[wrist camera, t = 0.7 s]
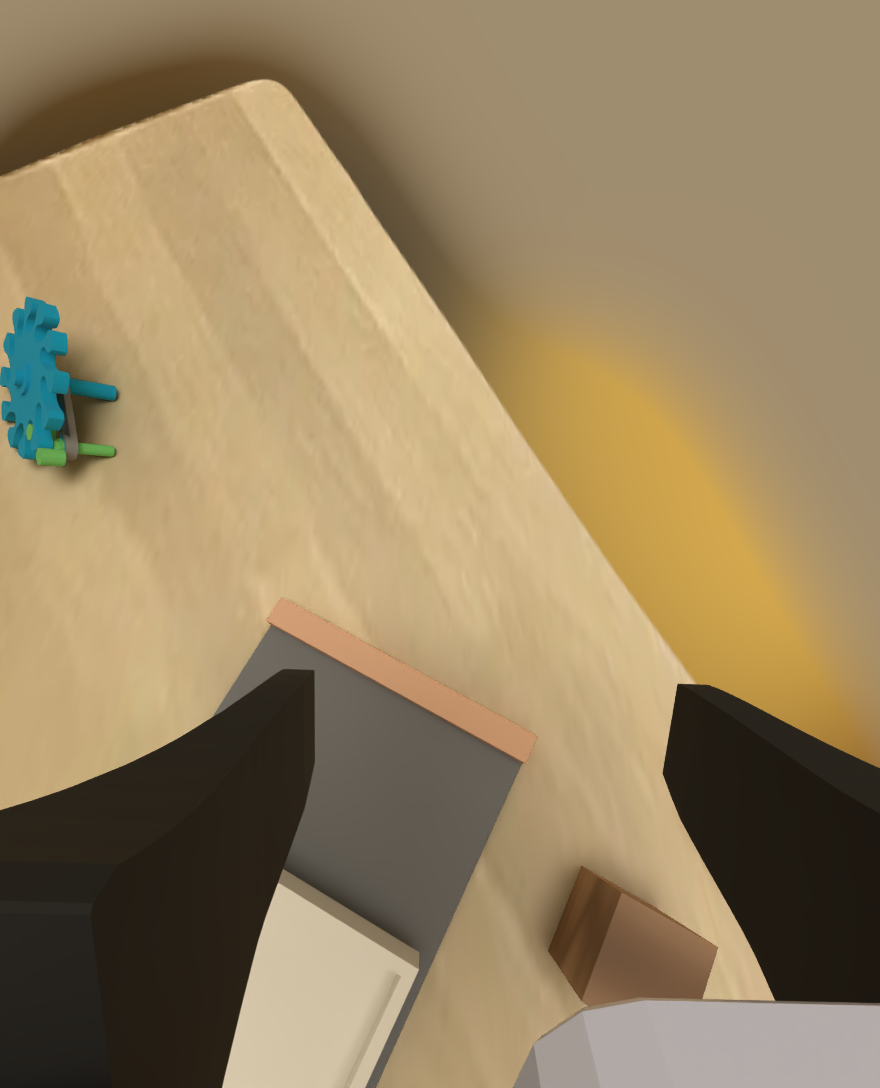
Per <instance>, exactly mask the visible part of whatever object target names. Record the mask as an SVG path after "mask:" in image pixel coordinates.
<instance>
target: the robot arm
mask: <svg viewBox="0 0 880 1088" xmlns="http://www.w3.org/2000/svg"><path fill="white" fill-rule="evenodd" d="M314 764H315V670H301V669H282V670H281V671H279V672H277V673H276V674H274V675H273V676H271V677H270V678H269V679H267V680H266V681H264V682H263V683H262V684H260V685H259V686H258V687H256V688H255V689H253V690H252V691H251V692H249V693H248V694H246V695H245V696H243V697H242V698H241V699H239V700H238V701H236V702H235V703H233V704H232V705H231V706H229V707H228V708H226V709H225V710H223V711H222V712H220V713H219V714H217V715H215V716H214V717H212V718H211V719H209V720H207V721H206V722H204V723H202V724H201V725H199V726H198V727H196V728H194V729H193V730H191V731H190V732H188V733H186V734H185V735H183V736H181V737H180V738H178V739H176V740H174V741H172V742H171V743H169V744H167V745H165V746H163V747H161V748H159V749H157V750H155V751H153V752H151V753H149V754H147V755H145V756H143V757H141V758H139V759H137V760H135V761H133V762H131V763H128V764H126V765H124V766H122V767H119V768H117V769H114V770H112V771H109V772H107V773H105V774H102V775H100V776H97V777H95V778H92V779H90V780H87V781H85V782H83V783H80V784H78V785H75V786H73V787H70V788H67V789H64V790H62V791H59V792H56V793H53V794H50V795H47V796H44V797H41V798H38V799H35V800H32V801H29V802H26V803H22V804H19V805H16V806H13V807H9V808H6V809H3V810H0V1088H222V1086H223V1082H224V1077H225V1073H226V1069H227V1065H228V1061H229V1056H230V1052H231V1048H232V1044H233V1040H234V1036H235V1032H236V1027H237V1023H238V1019H239V1015H240V1011H241V1007H242V1003H243V999H244V995H245V991H246V987H247V983H248V979H249V975H250V971H251V967H252V963H253V959H254V955H255V952H256V948H257V944H258V940H259V937H260V934H261V931H262V927H263V924H264V921H265V918H266V915H267V912H268V909H269V907H270V904H271V901H272V898H273V895H274V893H275V890H276V887H277V884H278V882H279V879H280V876H281V873H282V871H283V868H284V865H285V862H286V859H287V857H288V854H289V851H290V848H291V846H292V843H293V840H294V837H295V834H296V832H297V829H298V826H299V823H300V820H301V817H302V815H303V812H304V809H305V805H306V801H307V796H308V792H309V787H310V783H311V778H312V773H313V769H314ZM663 776H664V778H665V781H666V784H667V786H668V789H669V792H670V795H671V797H672V800H673V802H674V805H675V807H676V810H677V812H678V815H679V817H680V819H681V821H682V823H683V825H684V827H685V829H686V831H687V833H688V834H689V836H690V838H691V840H692V842H693V843H694V845H695V847H696V849H697V851H698V852H699V854H700V856H701V858H702V860H703V861H704V863H705V865H706V867H707V869H708V870H709V872H710V874H711V876H712V877H713V879H714V881H715V883H716V884H717V886H718V888H719V890H720V892H721V893H722V895H723V897H724V899H725V900H726V902H727V904H728V906H729V907H730V909H731V911H732V913H733V915H734V916H735V918H736V920H737V922H738V923H739V925H740V927H741V929H742V931H743V933H744V935H745V937H746V939H747V940H748V942H749V944H750V946H751V948H752V950H753V952H754V954H755V956H756V958H757V961H758V963H759V965H760V967H761V970H762V972H763V974H764V976H765V979H766V981H767V983H768V985H769V988H770V990H771V992H772V995H773V997H774V999H775V1001H761V1000H719V999H676V998H634V999H628V1000H623V1001H617V1002H612V1003H606V1004H600V1005H595V1006H589V1007H584V1008H582V1009H581V1010H579V1011H578V1012H577V1013H575V1014H574V1015H572V1016H571V1017H569V1018H568V1019H566V1020H565V1021H563V1022H562V1023H560V1024H559V1025H557V1026H556V1027H554V1028H553V1029H551V1030H550V1031H548V1032H547V1033H545V1034H544V1035H542V1036H541V1037H540V1038H539V1039H538V1040H537V1041H536V1042H535V1043H534V1045H533V1047H532V1049H531V1051H530V1053H529V1055H528V1057H527V1059H526V1061H525V1063H524V1065H523V1068H522V1070H521V1072H520V1074H519V1076H518V1078H517V1080H516V1082H515V1084H514V1086H513V1088H880V768H878V767H876V766H873V765H871V764H869V763H867V762H864V761H862V760H860V759H858V758H856V757H854V756H852V755H850V754H847V753H845V752H843V751H841V750H839V749H837V748H835V747H833V746H831V745H829V744H826V743H825V742H823V741H821V740H818V739H817V738H814V737H813V736H811V735H809V734H807V733H805V732H803V731H801V730H799V729H797V728H795V727H793V726H791V725H789V724H787V723H785V722H784V721H782V720H780V719H778V718H776V717H774V716H772V715H770V714H768V713H766V712H764V711H763V710H760V709H759V708H757V707H755V706H753V705H751V704H749V703H747V702H745V701H743V700H741V699H739V698H737V697H735V696H733V695H731V694H729V693H727V692H724V691H722V690H720V689H718V688H715V687H712V686H710V685H696V684H678V685H677V691H676V697H675V703H674V709H673V715H672V720H671V726H670V732H669V738H668V744H667V750H666V756H665V762H664V768H663Z"/></svg>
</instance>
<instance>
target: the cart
mask: <svg viewBox="0 0 880 1088" xmlns="http://www.w3.org/2000/svg"><path fill="white" fill-rule="evenodd" d="M418 971H419V952H418V951H416V950H415V949H413V948H411V947H410V946H408V945H406V944H405V943H403V942H401V941H400V940H398V939H397V938H395V937H393V936H392V935H390V934H388V933H387V932H385V931H384V930H382V929H380V928H379V927H377V926H375V925H374V924H372V923H371V922H369V921H367V920H366V919H364V918H362V917H361V916H359V915H357V914H356V913H354V912H353V911H351V910H349V909H348V908H346V907H344V906H343V905H341V904H340V903H338V902H336V901H335V900H333V899H331V898H330V897H328V896H326V895H325V894H323V893H322V892H320V891H318V890H317V889H315V888H313V887H312V886H310V885H309V884H307V883H305V882H304V881H302V880H300V879H299V878H297V877H296V876H294V875H292V874H291V873H289V872H287V871H286V870H284V869H283V871H282V873H281V876H280V879H279V882H278V884H277V887H276V890H275V893H274V895H273V898H272V901H271V904H270V907H269V909H268V912H267V915H266V918H265V921H264V924H263V927H262V931H261V934H260V937H259V940H258V944H257V948H256V952H255V955H254V959H253V963H252V967H251V971H250V975H249V979H248V983H247V987H246V991H245V995H244V999H243V1003H242V1007H241V1011H240V1015H239V1019H238V1023H237V1027H236V1032H235V1036H234V1040H233V1044H232V1048H231V1052H230V1056H229V1061H228V1065H227V1069H226V1073H225V1077H224V1082H223V1086H222V1088H365V1087H366V1085H367V1083H368V1080H369V1078H370V1076H371V1074H372V1072H373V1069H374V1067H375V1065H376V1063H377V1061H378V1058H379V1056H380V1054H381V1052H382V1050H383V1048H384V1045H385V1043H386V1041H387V1039H388V1037H389V1034H390V1032H391V1030H392V1028H393V1026H394V1023H395V1021H396V1019H397V1017H398V1015H399V1012H400V1010H401V1008H402V1006H403V1004H404V1001H405V999H406V997H407V995H408V993H409V991H410V988H411V986H412V984H413V982H414V980H415V977H416V975H417V973H418Z"/></svg>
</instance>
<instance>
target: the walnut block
mask: <svg viewBox="0 0 880 1088" xmlns="http://www.w3.org/2000/svg"><path fill="white" fill-rule="evenodd" d="M717 949H718V947H717V946H715V945H713V944H712V943H710V942H709V941H707V940H706V939H704V938H702V937H701V936H699V935H698V934H696V933H695V932H693V931H691V930H690V929H688V928H687V927H685V926H684V925H682V924H680V923H679V922H677V921H676V920H674V919H672V918H671V917H669V916H668V915H666V914H665V913H663V912H661V911H660V910H658V909H657V908H655V907H653V906H651V905H650V904H648V903H646V902H644V901H642V900H641V899H639V898H637V897H635V896H634V895H632V894H630V893H628V892H627V891H625V890H623V889H621V888H620V887H618V886H616V885H614V884H613V883H611V882H609V881H607V880H606V879H604V878H602V877H600V876H599V875H597V874H595V873H593V872H591V871H590V870H588V869H586V868H584V867H583V866H582V867H581V869H580V872H579V875H578V877H577V880H576V882H575V885H574V887H573V890H572V892H571V895H570V897H569V900H568V902H567V905H566V907H565V910H564V912H563V915H562V917H561V920H560V923H559V925H558V928H557V930H556V933H555V935H554V938H553V940H552V943H551V945H550V948H549V950H548V951H549V953H550V954H551V956H552V957H553V959H554V960H555V962H556V963H557V965H558V966H559V968H560V969H561V971H562V972H563V974H564V975H565V977H566V978H567V980H568V981H569V983H570V984H571V986H572V987H573V989H574V990H575V992H576V993H577V995H578V996H579V998H580V999H581V1001H582V1002H584V1003H586V1004H587V1005H589V1006H595V1005H600V1004H606V1003H612V1002H617V1001H623V1000H628V999H634V998H676V999H702V998H703V994H704V991H705V988H706V985H707V981H708V978H709V975H710V972H711V969H712V965H713V962H714V959H715V956H716V953H717Z"/></svg>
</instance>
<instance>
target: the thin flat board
mask: <svg viewBox="0 0 880 1088" xmlns="http://www.w3.org/2000/svg"><path fill="white" fill-rule="evenodd" d="M266 621H267V622H269V623H270V624H271V626H270V628H269V629H268V631H267V633H266V634H265V636H264V637H263V639H262V640H261V642H260V644H259V645H258V647H257V648H256V650H255V651H254V653H253V654H252V656H251V658H250V659H249V661H248V662H247V664H246V665H245V667H244V669H243V670H242V672H241V673H240V675H239V676H238V678H237V680H236V681H235V683H234V684H233V686H232V687H231V689H230V691H229V692H228V694H227V695H226V697H225V698H224V700H223V702H222V703H221V705H220V706H219V708H218V709H217V711H216V712H215V714H214V716H215V715H217V714H219V713H220V712H222V711H223V710H225V709H226V708H228V707H229V706H231V705H232V704H233V703H235V702H236V701H238V700H239V699H241V698H242V697H243V696H245V695H246V694H248V693H249V692H251V691H252V690H253V689H255V688H256V687H258V686H259V685H260V684H262V683H263V682H264V681H266V680H267V679H269V678H270V677H271V676H273V675H274V674H276V673H277V672H279V671H281V670H282V669H301V670H315V764H314V769H313V773H312V778H311V783H310V787H309V792H308V796H307V801H306V805H305V809H304V812H303V815H302V817H301V820H300V823H299V826H298V829H297V832H296V834H295V837H294V840H293V843H292V846H291V848H290V851H289V854H288V857H287V859H286V862H285V865H284V868H283V869H284V870H286V871H287V872H289V873H291V874H292V875H294V876H296V877H297V878H299V879H300V880H302V881H304V882H305V883H307V884H309V885H310V886H312V887H313V888H315V889H317V890H318V891H320V892H322V893H323V894H325V895H326V896H328V897H330V898H331V899H333V900H335V901H336V902H338V903H340V904H341V905H343V906H344V907H346V908H348V909H349V910H351V911H353V912H354V913H356V914H357V915H359V916H361V917H362V918H364V919H366V920H367V921H369V922H371V923H372V924H374V925H375V926H377V927H379V928H380V929H382V930H384V931H385V932H387V933H388V934H390V935H392V936H393V937H395V938H397V939H398V940H400V941H401V942H403V943H405V944H406V945H408V946H410V947H411V948H413V949H415V950H416V951H418V952H419V971H418V973H417V975H416V977H415V980H414V982H413V984H412V986H411V988H410V991H409V993H408V995H407V997H406V999H405V1001H404V1004H403V1006H402V1008H401V1010H400V1012H399V1015H398V1017H397V1019H396V1021H395V1023H394V1026H393V1028H392V1030H391V1032H390V1034H389V1037H388V1039H387V1041H386V1043H385V1045H384V1048H383V1050H382V1052H381V1054H380V1056H379V1058H378V1061H377V1063H376V1065H375V1067H374V1069H373V1072H372V1074H371V1076H370V1078H369V1080H368V1083H367V1085H366V1087H365V1088H376V1086H377V1083H378V1081H379V1079H380V1077H381V1075H382V1072H383V1070H384V1068H385V1066H386V1064H387V1061H388V1059H389V1057H390V1055H391V1052H392V1050H393V1048H394V1046H395V1044H396V1041H397V1039H398V1037H399V1035H400V1032H401V1030H402V1028H403V1026H404V1024H405V1021H406V1019H407V1017H408V1015H409V1013H410V1010H411V1008H412V1006H413V1004H414V1001H415V999H416V997H417V995H418V993H419V990H420V988H421V986H422V984H423V981H424V979H425V977H426V975H427V973H428V970H429V968H430V966H431V964H432V962H433V959H434V957H435V955H436V953H437V950H438V948H439V946H440V944H441V942H442V939H443V937H444V935H445V933H446V931H447V928H448V926H449V924H450V922H451V919H452V917H453V915H454V913H455V911H456V908H457V906H458V904H459V902H460V899H461V897H462V895H463V893H464V891H465V888H466V886H467V884H468V882H469V880H470V877H471V875H472V873H473V871H474V868H475V866H476V864H477V862H478V860H479V857H480V855H481V853H482V851H483V848H484V846H485V844H486V842H487V840H488V837H489V835H490V833H491V831H492V829H493V826H494V824H495V822H496V820H497V817H498V815H499V813H500V811H501V809H502V806H503V804H504V802H505V800H506V798H507V795H508V793H509V791H510V789H511V786H512V784H513V782H514V780H515V778H516V775H517V773H518V771H519V769H520V766H521V764H522V763H526V762H527V759H528V757H529V755H530V753H531V750H532V748H533V746H534V744H535V742H536V739H537V737H538V736H536V735H534V734H532V733H530V732H528V731H527V730H525V729H523V728H521V727H519V726H517V725H516V724H514V723H512V722H510V721H508V720H506V719H505V718H503V717H501V716H499V715H497V714H495V713H493V712H492V711H490V710H488V709H486V708H484V707H482V706H481V705H479V704H477V703H475V702H473V701H471V700H470V699H468V698H466V697H464V696H462V695H460V694H458V693H457V692H455V691H453V690H451V689H449V688H447V687H446V686H444V685H442V684H440V683H438V682H436V681H435V680H433V679H431V678H429V677H427V676H425V675H423V674H422V673H420V672H418V671H416V670H414V669H412V668H411V667H409V666H407V665H405V664H403V663H401V662H400V661H398V660H396V659H394V658H392V657H390V656H388V655H387V654H385V653H383V652H381V651H379V650H377V649H376V648H374V647H372V646H370V645H368V644H366V643H365V642H363V641H361V640H359V639H357V638H355V637H353V636H352V635H350V634H348V633H346V632H344V631H342V630H341V629H339V628H337V627H335V626H333V625H331V624H330V623H328V622H326V621H324V620H322V619H320V618H318V617H317V616H315V615H313V614H311V613H309V612H307V611H306V610H304V609H302V608H300V607H298V606H296V605H295V604H293V603H291V602H289V601H287V600H285V599H283V598H282V597H281V598H280V600H279V601H278V603H277V604H276V606H275V607H274V609H273V610H272V612H271V614H270V615H269V617H268V618H267V620H266ZM214 716H213V717H214Z"/></svg>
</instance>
